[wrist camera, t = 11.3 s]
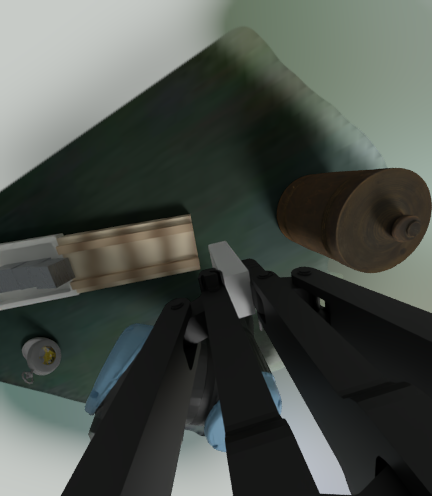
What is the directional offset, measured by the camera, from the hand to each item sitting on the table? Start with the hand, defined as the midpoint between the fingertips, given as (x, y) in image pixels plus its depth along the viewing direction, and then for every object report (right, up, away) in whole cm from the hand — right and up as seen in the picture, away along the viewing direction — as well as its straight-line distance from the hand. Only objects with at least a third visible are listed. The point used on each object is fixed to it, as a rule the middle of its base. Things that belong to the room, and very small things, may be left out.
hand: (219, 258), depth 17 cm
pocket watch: (-37, -21, +28) cm, 51 cm away
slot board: (-16, 0, +25) cm, 30 cm away
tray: (-36, -3, +23) cm, 43 cm away
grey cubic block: (-35, -4, +20) cm, 41 cm away
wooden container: (+20, +9, +28) cm, 36 cm away
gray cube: (-29, -3, +21) cm, 36 cm away
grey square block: (-34, -3, +23) cm, 41 cm away
